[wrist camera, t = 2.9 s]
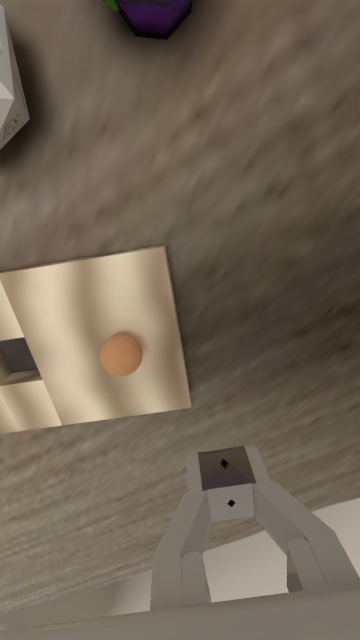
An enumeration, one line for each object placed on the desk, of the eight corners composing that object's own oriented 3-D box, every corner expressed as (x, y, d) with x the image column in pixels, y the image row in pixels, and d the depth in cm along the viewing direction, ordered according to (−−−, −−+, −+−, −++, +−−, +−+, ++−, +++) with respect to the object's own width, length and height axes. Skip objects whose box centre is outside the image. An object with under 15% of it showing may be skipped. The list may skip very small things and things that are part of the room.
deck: (165, 244, 21) (162, 248, 17) (190, 392, 27) (193, 422, 23) (-71, 283, 22) (-128, 296, 18) (2, 418, 28) (-29, 452, 24)
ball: (140, 325, 21) (134, 343, 18) (148, 359, 23) (143, 381, 19) (101, 331, 22) (88, 349, 18) (111, 364, 23) (101, 387, 19)
